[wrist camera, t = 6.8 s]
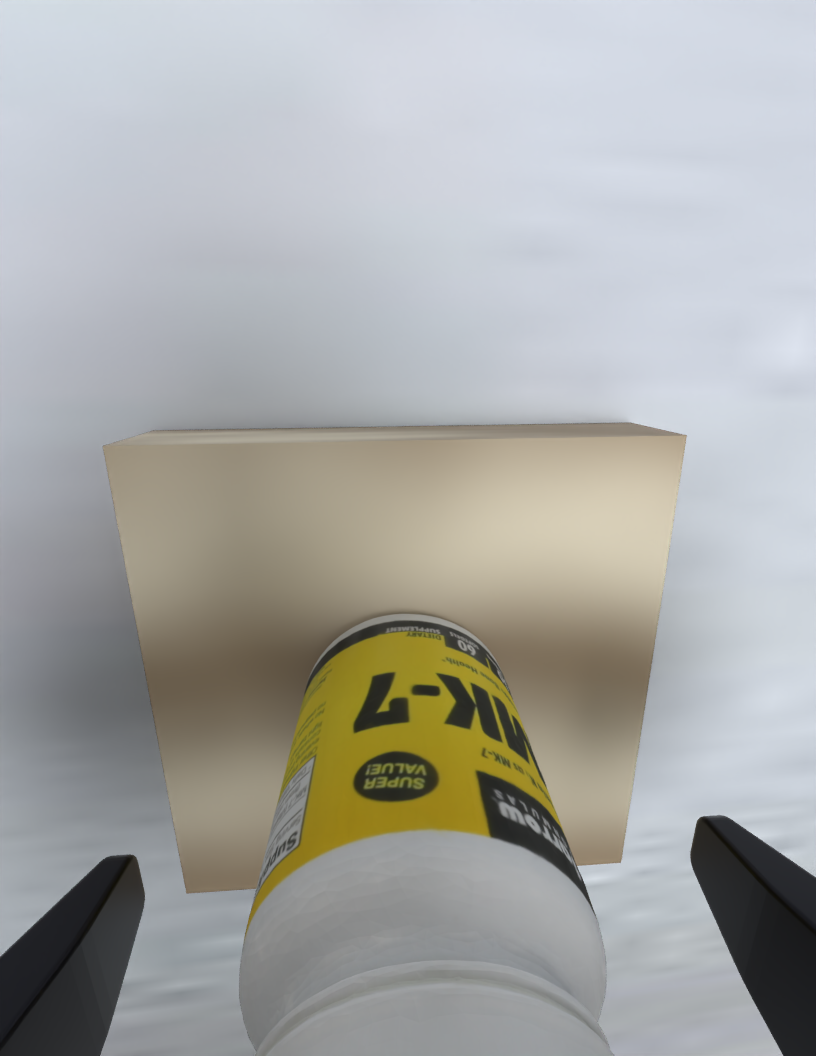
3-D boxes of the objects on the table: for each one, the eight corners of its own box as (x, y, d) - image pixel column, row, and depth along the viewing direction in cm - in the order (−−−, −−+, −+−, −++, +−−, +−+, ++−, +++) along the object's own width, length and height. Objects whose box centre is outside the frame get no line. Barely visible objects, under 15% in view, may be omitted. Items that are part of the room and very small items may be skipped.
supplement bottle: (536, 643, 12) (835, 1188, 4) (456, 794, 13) (569, 1432, 5) (343, 577, 11) (257, 1090, 3) (278, 744, 13) (104, 1400, 5)
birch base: (585, 793, 17) (620, 862, 15) (213, 815, 16) (186, 893, 14) (630, 422, 13) (686, 435, 11) (153, 430, 13) (103, 446, 10)
